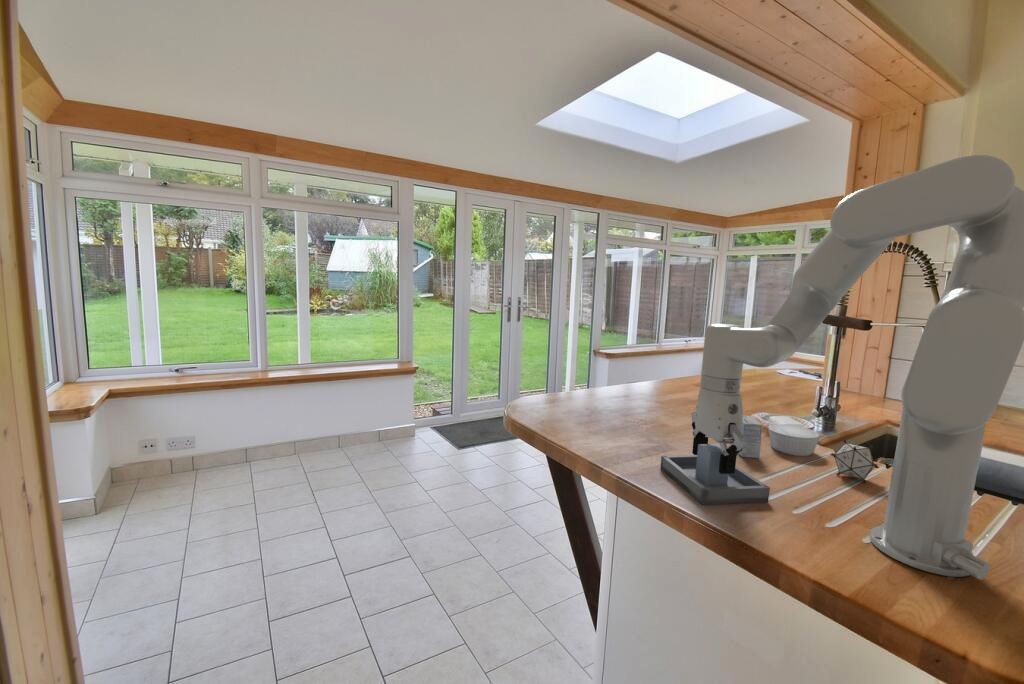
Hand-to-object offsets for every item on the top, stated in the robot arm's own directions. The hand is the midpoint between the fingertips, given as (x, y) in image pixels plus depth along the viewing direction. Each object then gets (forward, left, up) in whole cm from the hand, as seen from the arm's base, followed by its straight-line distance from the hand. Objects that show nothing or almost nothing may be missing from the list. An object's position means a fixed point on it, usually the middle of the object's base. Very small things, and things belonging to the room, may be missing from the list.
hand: (712, 463), depth 96 cm
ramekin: (+17, -34, -5) cm, 39 cm away
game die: (0, -35, -5) cm, 35 cm away
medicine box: (+16, -20, -5) cm, 26 cm away
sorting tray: (0, 0, -5) cm, 5 cm away
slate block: (0, 0, -4) cm, 4 cm away
